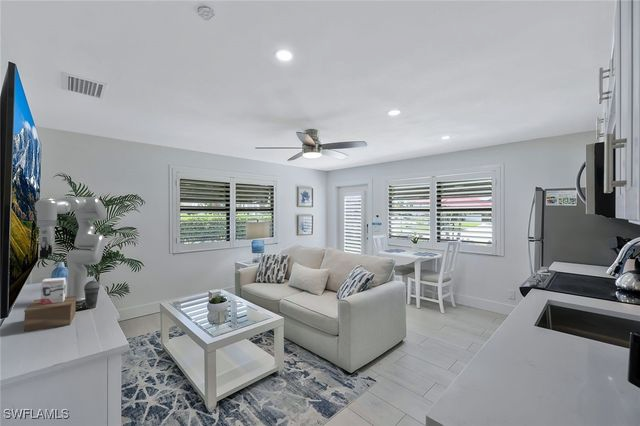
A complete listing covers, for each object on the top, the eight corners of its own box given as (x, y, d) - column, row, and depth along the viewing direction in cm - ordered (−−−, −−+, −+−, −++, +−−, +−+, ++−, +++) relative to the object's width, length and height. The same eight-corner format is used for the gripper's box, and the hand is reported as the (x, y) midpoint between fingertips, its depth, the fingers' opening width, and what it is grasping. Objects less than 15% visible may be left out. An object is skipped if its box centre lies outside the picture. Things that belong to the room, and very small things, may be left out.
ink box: (40, 304, 137) (41, 280, 137) (42, 302, 141) (43, 278, 141) (63, 302, 142) (64, 279, 142) (65, 299, 146) (66, 277, 146)
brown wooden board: (34, 301, 144) (34, 299, 144) (76, 297, 153) (76, 295, 153) (24, 312, 129) (24, 310, 129) (71, 306, 139) (71, 304, 139)
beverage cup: (86, 305, 166) (87, 272, 166) (100, 304, 169) (102, 271, 169) (80, 309, 159) (82, 275, 160) (96, 308, 162) (97, 274, 162)
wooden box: (34, 319, 144) (35, 301, 144) (75, 313, 153) (76, 297, 153) (23, 331, 129) (24, 312, 129) (69, 325, 138) (70, 307, 139)
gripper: (53, 225, 141) (52, 258, 141) (59, 222, 155) (58, 253, 155) (32, 225, 136) (31, 259, 137) (40, 222, 150) (39, 253, 151)
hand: (45, 256), depth 146 cm, fingers open, 9 cm apart
